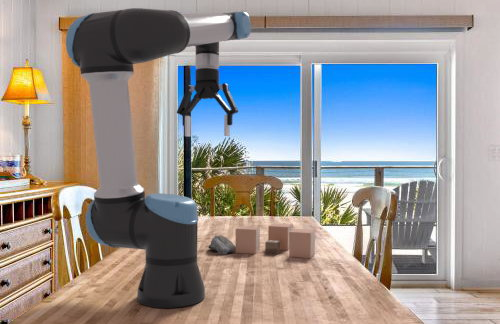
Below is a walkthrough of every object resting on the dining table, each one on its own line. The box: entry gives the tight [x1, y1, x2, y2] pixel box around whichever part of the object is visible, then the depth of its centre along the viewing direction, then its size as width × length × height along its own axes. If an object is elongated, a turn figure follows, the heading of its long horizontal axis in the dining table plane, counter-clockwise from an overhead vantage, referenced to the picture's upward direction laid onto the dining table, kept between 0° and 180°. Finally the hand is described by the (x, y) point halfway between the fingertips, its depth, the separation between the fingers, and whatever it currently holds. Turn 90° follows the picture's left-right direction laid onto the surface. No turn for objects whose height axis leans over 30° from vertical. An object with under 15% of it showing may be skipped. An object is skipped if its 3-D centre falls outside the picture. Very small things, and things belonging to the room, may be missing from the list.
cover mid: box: [267, 222, 294, 251], centre depth 167 cm, size 7×7×8 cm
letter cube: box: [264, 239, 281, 256], centre depth 157 cm, size 4×4×4 cm
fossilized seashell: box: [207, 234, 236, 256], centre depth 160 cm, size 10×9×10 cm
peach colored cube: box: [235, 225, 261, 255], centre depth 160 cm, size 7×7×8 cm
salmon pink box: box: [288, 228, 316, 259], centre depth 154 cm, size 7×7×8 cm
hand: (207, 136), depth 149 cm, fingers open, 13 cm apart
